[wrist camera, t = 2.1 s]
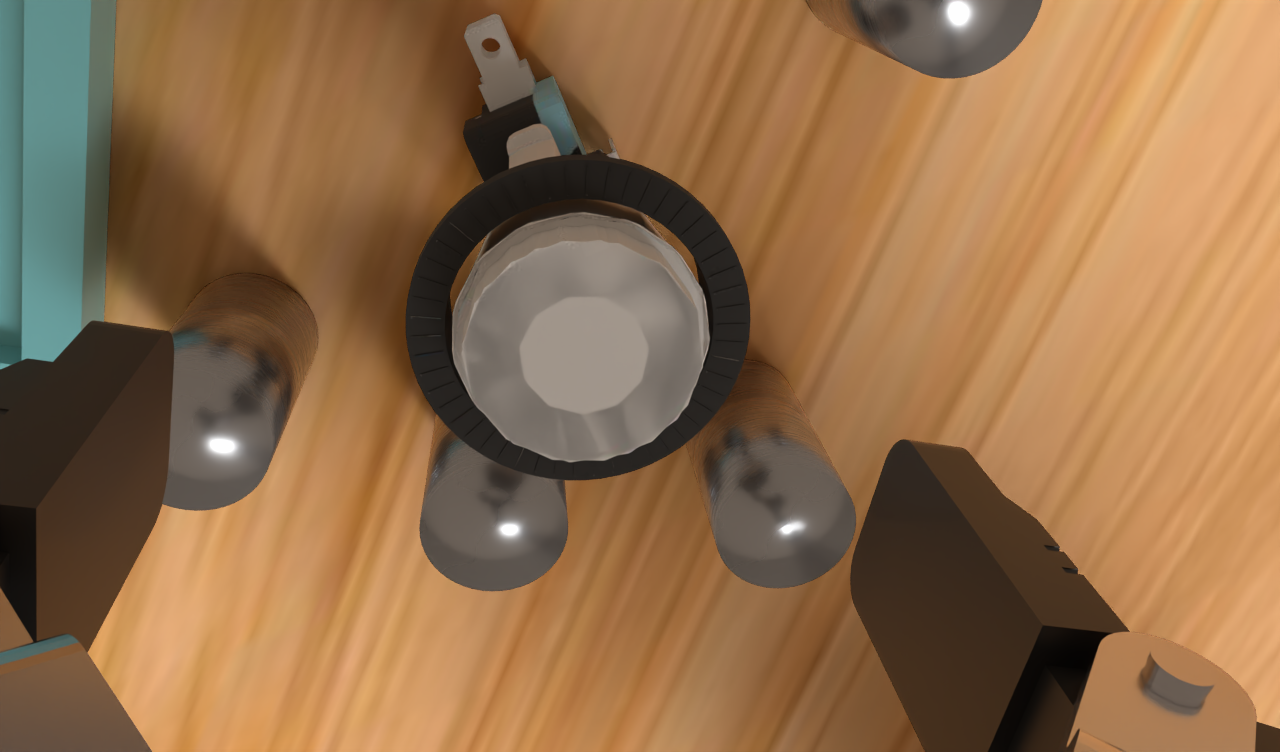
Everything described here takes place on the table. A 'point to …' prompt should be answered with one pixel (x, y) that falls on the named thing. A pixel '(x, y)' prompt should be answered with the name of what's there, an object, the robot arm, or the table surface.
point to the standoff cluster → (535, 506)
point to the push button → (570, 294)
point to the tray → (53, 171)
